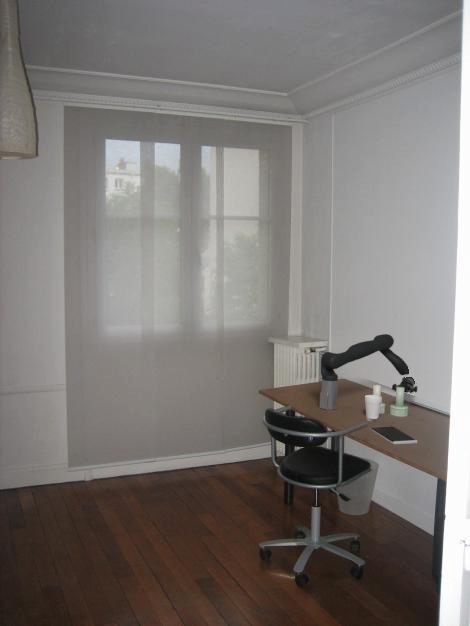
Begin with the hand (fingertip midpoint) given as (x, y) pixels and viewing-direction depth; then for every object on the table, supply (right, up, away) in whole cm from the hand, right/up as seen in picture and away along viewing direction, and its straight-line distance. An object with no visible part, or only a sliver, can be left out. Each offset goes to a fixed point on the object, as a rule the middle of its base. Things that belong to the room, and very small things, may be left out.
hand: (403, 390), depth 379 cm
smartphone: (-17, -18, -45) cm, 52 cm away
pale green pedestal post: (-5, -14, -9) cm, 17 cm away
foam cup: (-22, -15, -17) cm, 31 cm away
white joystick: (-17, -13, -4) cm, 22 cm away
